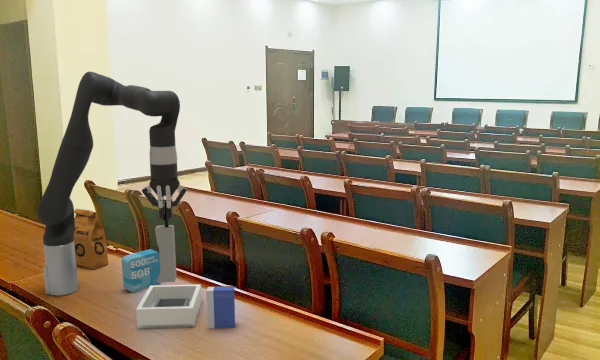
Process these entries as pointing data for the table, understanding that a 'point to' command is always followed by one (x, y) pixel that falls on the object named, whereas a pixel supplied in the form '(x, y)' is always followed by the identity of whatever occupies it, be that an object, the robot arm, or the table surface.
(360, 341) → the table surface
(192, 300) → the box
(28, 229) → the table surface
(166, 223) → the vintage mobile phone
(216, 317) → the walkman
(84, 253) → the coffee package
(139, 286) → the data package
